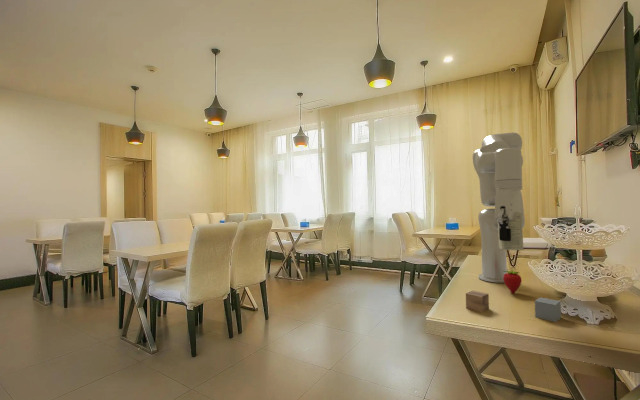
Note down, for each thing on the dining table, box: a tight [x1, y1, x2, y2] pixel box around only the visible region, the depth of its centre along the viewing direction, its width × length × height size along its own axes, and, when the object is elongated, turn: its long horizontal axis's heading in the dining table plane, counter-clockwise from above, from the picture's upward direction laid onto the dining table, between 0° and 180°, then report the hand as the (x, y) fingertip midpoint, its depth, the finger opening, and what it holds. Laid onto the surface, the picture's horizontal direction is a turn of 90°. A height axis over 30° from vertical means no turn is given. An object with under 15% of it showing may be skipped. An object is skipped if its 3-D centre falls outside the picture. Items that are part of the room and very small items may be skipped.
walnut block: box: [465, 290, 490, 313], centre depth 98 cm, size 5×5×5 cm
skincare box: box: [498, 213, 524, 251], centre depth 99 cm, size 6×4×12 cm
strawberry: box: [503, 270, 523, 294], centre depth 113 cm, size 6×8×10 cm
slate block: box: [534, 296, 562, 323], centre depth 90 cm, size 5×5×5 cm
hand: (510, 239), depth 99 cm, fingers closed on skincare box, 6 cm apart
